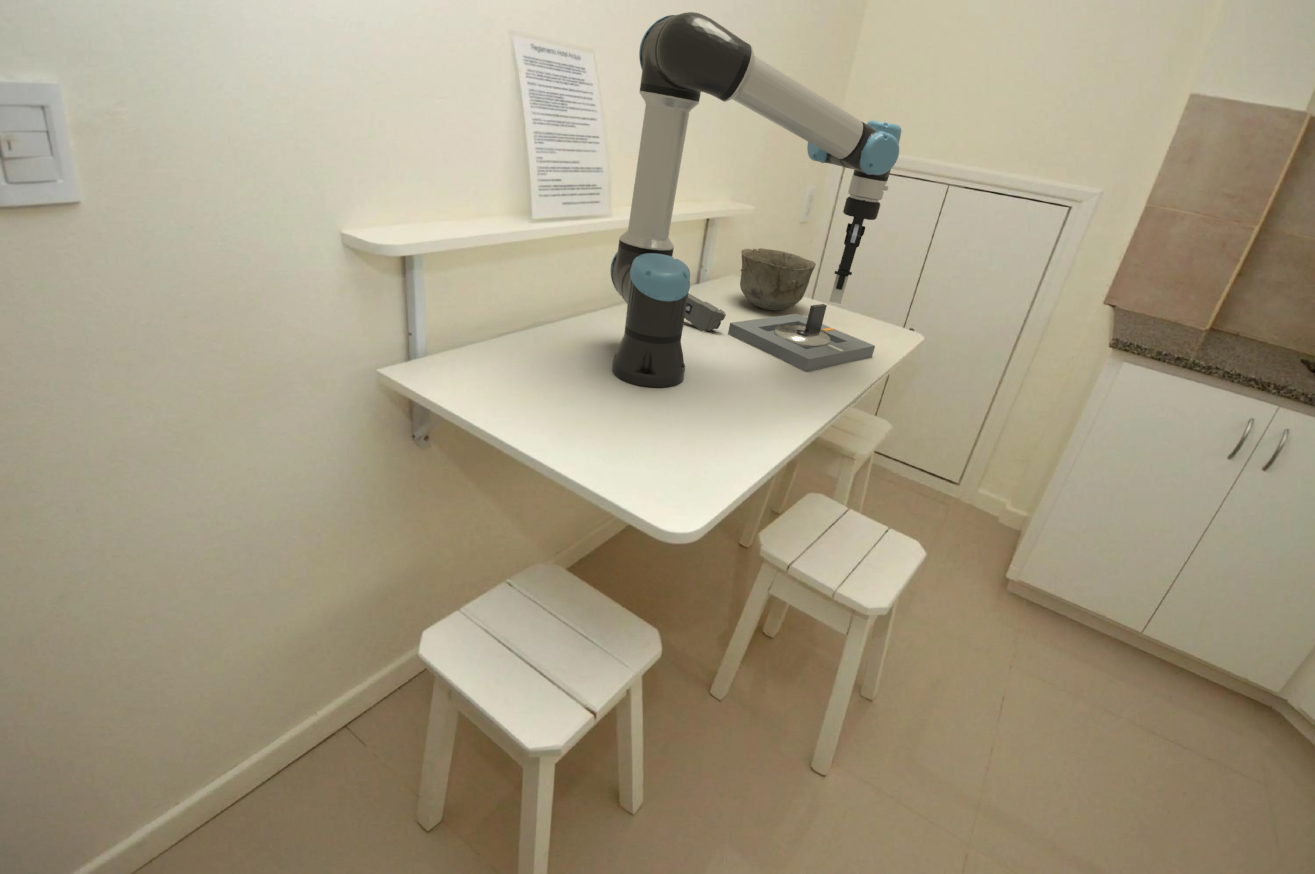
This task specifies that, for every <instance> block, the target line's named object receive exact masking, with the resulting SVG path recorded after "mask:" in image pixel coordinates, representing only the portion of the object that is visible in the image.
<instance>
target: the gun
mask: <svg viewBox="0 0 1315 874" xmlns="http://www.w3.org/2000/svg"><path fill="white" fill-rule="evenodd" d="M726 315H727V314H726V312H725V311H723V309H721V308H720V309H719V308H718V307H716V306H714V305H713V304H712V303H710V302H708V301H703V300H701V299H700V298H698V297H696V296H695V295H692V294H691V293H689V292H688V298H687V305H686V311H685V317H684V320H687V322H690V323H691V324H692V325H693V327H695V328H696V329H697V330H699V331H701V332H711V331H712V330H718V329H719V328H720V326H721V324H722V321H723V320H725V319H726Z"/></svg>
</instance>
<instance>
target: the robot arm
mask: <svg viewBox="0 0 1315 874" xmlns="http://www.w3.org/2000/svg"><path fill="white" fill-rule="evenodd" d="M638 56H639V64H640V69H641V78H640V86H639V94H640V96H641V97H642V99H643V101H644V103H645V105H644V106H645V108H644V113H643V121H642V128H641V134H640V135H641V136H640V142H639V148H638V155H637V157H638V158H637V164H636V172H635V179H634V185H633V191H632V192H633V193H632V197H631V198H632V199H631V205H630V213H629V221H628V227H627V230H626V231H625V232H623V233H622V234H621V235H620V236H619V240H618V245H617V246H618V247H617V252H616V253H615V254H614V256H612V257H613V258H612V259H611V264H610V269H609V270H610V279H611V282H612V285H613V287H614V289H615V291H616V292H617V293H618V295H619V296H621V298H622V299H623V300H624V302H625V303H626V304H627V305H626V313H625V314H626V316H625V326H624V333H623V337H622V339H621V341H620V343H619V346H618V348H617V351H616V353H615V354H614V356H613V359H612V369H611V370H612V372H613V373H614V375H615V376H616V377H617V378H619V379H621V380H623V381H624V382H626V383H627V382H628V383H630V384H634V385H636V386H637V385H638V386H641V387H649V388H650V387H651V388H667V387H672V386H676V385H678V384H681V382H683V380H684V378H685V372H686V365H685V363H684V362H685V361H684V359H685V358H684V354H683V353H684V352H683V349H682V336H683V331H684V330H683V329H684V322H685V318H684V317H685V311H686V305H687V298H688V293H689V291H690V288H691V271H690V268H689V266H688V265H687V264H686V263H685V262H683V261H682V260H680V259H679V258H675V257H674V255H673V254H674V248H675V246H674V243H673V242H672V241H671V240H670V238H669V235H670V229H671V223H672V217H673V211H674V205H675V199H676V195H677V188H678V182H679V176H680V170H681V164H682V159H683V152H684V145H685V141H686V135H687V129H688V123H689V118H690V112H691V111H692V110H693V109H694V108H695V107H697V106H698V105H699V104H700V101H701V100H700V99H701V94H702V93H705V94H707V95H710V96H713V97H715V98H717V99H718V100H720V101H721V102H724V103H726V102H728V101H731V100H733V101H735V102H737V103H738V104H741V105H742V106H744V107H746V108H747V109H749V110H751V111H752V112H754V113H756V114H758V115H759V116H761V117H763V118H765V119H767V120H768V121H770V122H773V123H774V124H776V125H778V126H779V127H781V128H783V129H785V130H787V131H788V132H790V133H792V134H794V136H797V137H799V138H801V139H803V140H804V141H806V142H807V144H806V145H807V146H806V147H807V155H808V157H809V159H810V160H811V161H813V162H818V163H821V164H829V165H834V166H839V167H842V168H847V169H851V170H853V174H852V177H851V180H850V184H849V186H848V187H849V188H848V192H847V194H848V195H849V196H847V197H846V200H845V202H844V206H843V210H842V213H843V215H846V216H848V217H853V218H852V222H851V223H849V222H847V227H846V230H845V232H846V234H845V238H844V242H843V244H844V249H843V252H842V256H841V259H840V263H839V264H838V269H837V270H834V275H836V276H835V279H834V283H833V287H832V290H831V294H830V297H829V302H831V303H836V304H840V305H841V304H842V300H843V296H844V293H845V290H846V286H847V283H848V279H849V276H852V275H853V273H852V272H853V271H851V268H852V265H853V262H854V258H855V255H856V251H857V248H859V246H860V244H861V242H862V241H861V240H862V238H863V236H864V235H865V230H866V226H864V221H865V220H866V221H867V220H868V221H874V220H876V219H877V218H878V215H879V211H880V208H881V203H880V202H879V201H881V200H882V199H883V198H884V193H885V192H886V191H889V186H888V185H887V182H888V181H889V180H888V179H889V177H890V173H891V170H892V169H893V168H894V166H895V164H896V163H897V162H898V159H899V156H900V139H901V136H902V135H901V134H902V127H901V126H900V125H899V124H895V123H889V122H885V121H879V120H872V119H871V120H869V121H867V123H865V122H863V121H861V120H860V119H859V118H857V117H855V116H854V115H853V114H851V113H849V112H847V111H845V109H842V108H841V107H839V106H837V105H836V104H834V103H833V102H831V101H829V100H828V99H826V98H824V97H823V96H821V95H819V94H818V93H816V92H815V91H813V90H811V89H810V88H808V87H807V86H805V85H803V84H802V83H800V82H799V81H797V80H795V79H793V78H791V77H790V76H788V75H786V73H784V72H782V71H780V70H778V69H777V68H776V67H774V66H772V65H771V64H769V63H767V62H766V61H764V60H762V59H761V58H759V57H758V56H756V55H755V52H754V48H753V46H752V45H751V44H750V43H748V42H746V41H745V40H743V39H742V38H740V37H739V36H737V35H736V34H735V33H733V32H731V31H730V30H728V29H727V28H726V27H724V26H723V25H721V24H720V23H718V22H717V21H715V20H714V19H712V18H710V17H708V16H706V15H704V14H701V13H699V12H695V11H694V12H693V11H691V12H681V13H679V14H669V15H665V16H663V17H661V18H658V19H657V20H656V21H655V22H654V23H653V24H651V25H650V26H649V28H648V29H646V31H645V33H644V34H643V36H642V38H641V41H640V46H639V53H638ZM884 191H885V192H884Z"/></svg>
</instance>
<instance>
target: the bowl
mask: <svg viewBox="0 0 1315 874" xmlns="http://www.w3.org/2000/svg"><path fill="white" fill-rule="evenodd" d="M740 252H741V269H740V273H741V275H740V281H739V286H740V290H741V292H742V294H743V296H744V297H745V299H747V301H749V302H750V303H751V304H753V305H754V306H756V307H757V308H760V309H763V310H765V311H766V310H767V311H783V310H788V309H790V308H793V307H795V305H797V304H798V303H799V302H800V301H802V299H803V298H804V296H805V293H806V291H807V288H808V286H809V283H810V280H811V276H812V274H813V273H814V270H815V268H816V266H817V264H816V262H815V261H813V260H810V259H807V258H805V257H803V256H800V255H796V254H793V253H789V252H786V251H781V250H775V249H771V248H770V249H769V248H767V249H766V248H762V247H761V248H752V249H750V248H744V249H741V250H740Z"/></svg>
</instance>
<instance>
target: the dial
mask: <svg viewBox="0 0 1315 874" xmlns="http://www.w3.org/2000/svg"><path fill="white" fill-rule="evenodd" d="M827 306H828V304H824V303H819V304H813V305H810V308H809V312H808V314H807V315H808V316H807V318H808V319H807V323H806V327H805V326H800V325H779V326H777V327H775V330H774V335H776V336H778V337H781V338H783V339H785V340H787V341H790V342H792V343H794V344H796V345H798V346H801V347H803V348H805V349H809V348H814V347H820V346H825V345H829V343H830V337H829V336H828V335H827V334H825V333H823V332H821V327H822V324H823V322H824V318H825V315H826V311H827Z"/></svg>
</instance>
